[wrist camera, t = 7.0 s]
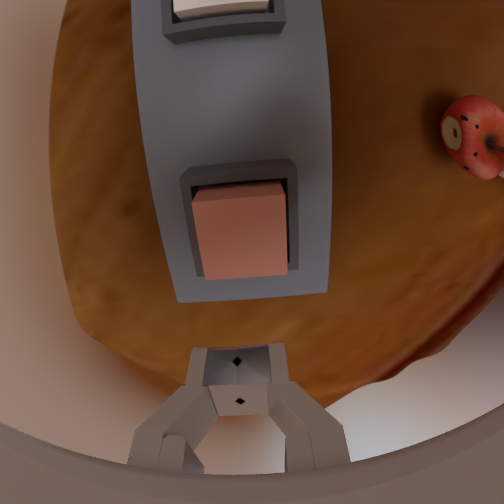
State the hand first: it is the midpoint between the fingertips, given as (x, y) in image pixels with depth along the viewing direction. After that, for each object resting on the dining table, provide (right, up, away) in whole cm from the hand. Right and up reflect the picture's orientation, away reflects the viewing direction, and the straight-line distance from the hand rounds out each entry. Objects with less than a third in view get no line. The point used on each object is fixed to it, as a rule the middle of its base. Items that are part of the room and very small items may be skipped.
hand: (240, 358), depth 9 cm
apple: (+19, +15, +11) cm, 27 cm away
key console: (-1, +15, +10) cm, 18 cm away
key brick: (0, +6, +10) cm, 11 cm away
